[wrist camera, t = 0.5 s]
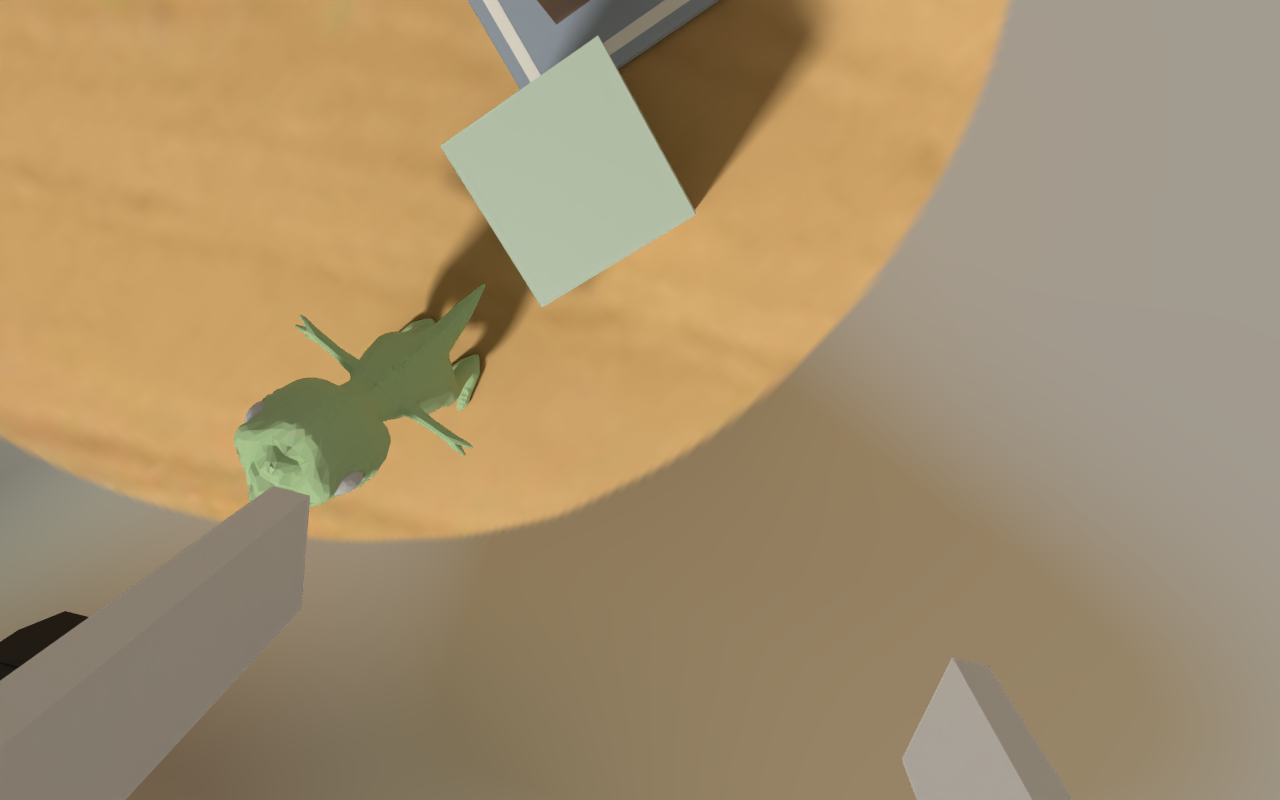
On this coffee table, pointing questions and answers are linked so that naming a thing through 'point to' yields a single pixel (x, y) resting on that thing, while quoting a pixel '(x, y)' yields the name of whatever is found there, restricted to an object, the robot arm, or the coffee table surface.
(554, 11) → the foundation block
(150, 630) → the robot arm
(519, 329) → the coffee table surface
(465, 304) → the toy
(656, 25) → the grey square plate
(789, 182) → the coffee table surface
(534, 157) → the sage block
